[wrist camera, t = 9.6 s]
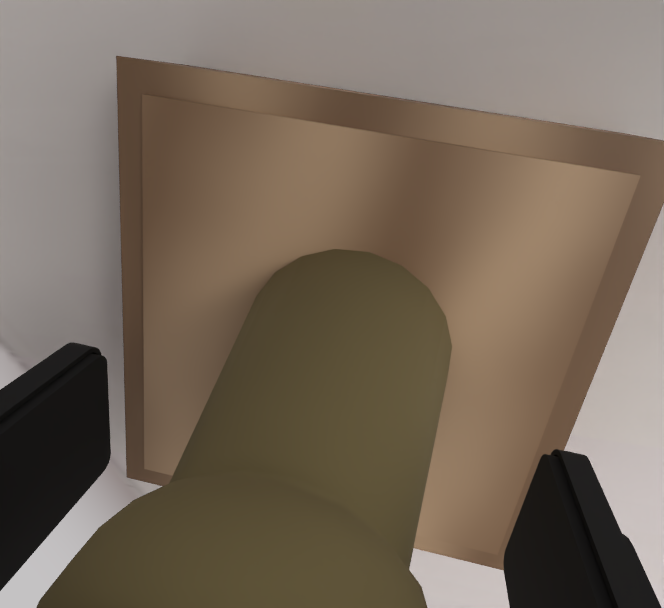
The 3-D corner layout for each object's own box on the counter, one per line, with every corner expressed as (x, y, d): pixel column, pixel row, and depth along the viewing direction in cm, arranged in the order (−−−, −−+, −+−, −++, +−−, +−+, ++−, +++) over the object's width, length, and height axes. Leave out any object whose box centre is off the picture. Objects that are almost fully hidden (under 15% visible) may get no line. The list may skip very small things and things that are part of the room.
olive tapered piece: (229, 255, 14) (-229, 622, 4) (449, 241, 13) (512, 709, 3) (263, 434, 17) (9, 954, 7) (454, 436, 15) (502, 1081, 5)
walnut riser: (624, 133, 15) (691, 145, 11) (498, 489, 21) (515, 577, 17) (184, 64, 17) (112, 55, 13) (176, 414, 22) (123, 481, 18)
